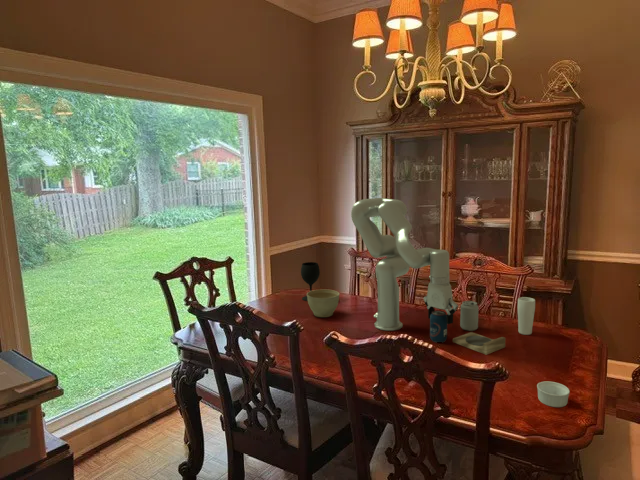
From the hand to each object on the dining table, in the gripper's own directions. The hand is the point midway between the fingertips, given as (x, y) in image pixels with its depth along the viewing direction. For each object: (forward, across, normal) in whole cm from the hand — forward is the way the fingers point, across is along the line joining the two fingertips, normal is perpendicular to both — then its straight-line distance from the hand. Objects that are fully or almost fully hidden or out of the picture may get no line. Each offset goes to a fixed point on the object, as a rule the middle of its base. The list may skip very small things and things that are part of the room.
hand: (440, 320), depth 186 cm
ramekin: (+11, +53, -10) cm, 55 cm away
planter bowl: (+7, -58, -19) cm, 62 cm away
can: (+9, -2, +21) cm, 23 cm away
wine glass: (+6, -85, -9) cm, 86 cm away
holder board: (+9, +12, +9) cm, 17 cm away
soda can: (+9, -1, 0) cm, 9 cm away
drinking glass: (+10, +16, +35) cm, 39 cm away
